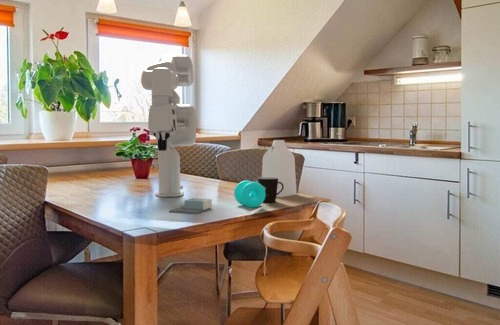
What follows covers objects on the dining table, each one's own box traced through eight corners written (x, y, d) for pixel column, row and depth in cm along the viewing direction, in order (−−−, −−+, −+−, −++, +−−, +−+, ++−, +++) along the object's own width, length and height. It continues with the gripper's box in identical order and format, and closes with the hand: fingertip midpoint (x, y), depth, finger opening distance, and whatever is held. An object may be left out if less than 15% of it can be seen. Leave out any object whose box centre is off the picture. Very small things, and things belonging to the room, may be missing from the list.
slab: (192, 198, 182) (211, 199, 180) (192, 206, 182) (211, 206, 180) (184, 200, 176) (204, 201, 173) (184, 208, 176) (204, 209, 173)
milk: (280, 198, 211) (280, 140, 210) (260, 196, 219) (260, 140, 218) (296, 196, 220) (296, 140, 218) (277, 194, 228) (277, 140, 226)
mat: (184, 207, 182) (184, 206, 182) (210, 209, 179) (210, 207, 179) (169, 212, 171) (169, 210, 171) (196, 213, 167) (196, 212, 167)
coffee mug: (254, 201, 202) (254, 177, 201) (272, 200, 205) (272, 177, 205) (266, 204, 191) (266, 179, 191) (285, 203, 195) (285, 179, 194)
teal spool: (242, 208, 180) (242, 182, 179) (233, 205, 189) (233, 180, 188) (266, 207, 184) (266, 181, 183) (256, 204, 193) (256, 179, 192)
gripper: (184, 101, 179) (184, 150, 180) (149, 102, 184) (150, 150, 184) (175, 100, 172) (175, 151, 173) (139, 101, 176) (139, 150, 177)
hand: (162, 150), depth 178 cm, fingers closed
